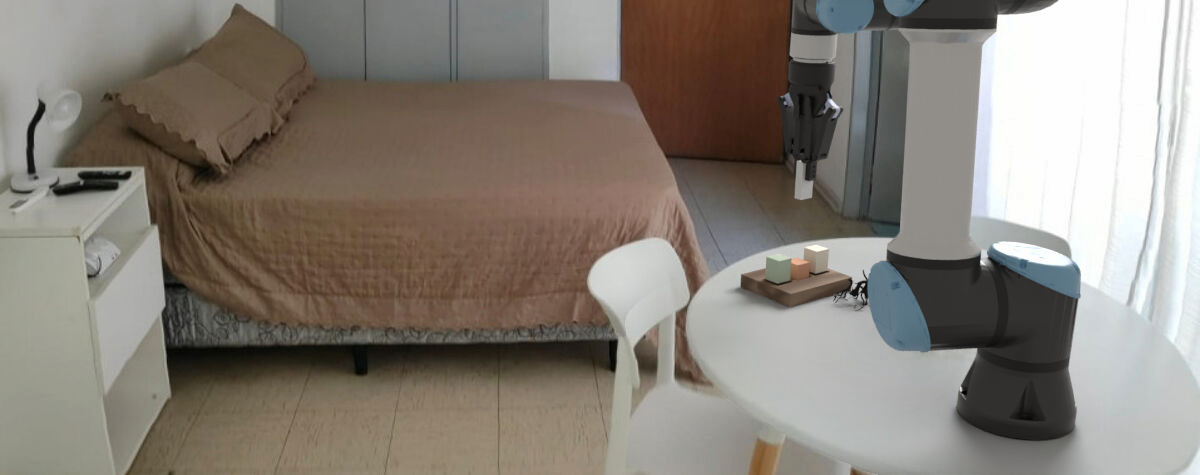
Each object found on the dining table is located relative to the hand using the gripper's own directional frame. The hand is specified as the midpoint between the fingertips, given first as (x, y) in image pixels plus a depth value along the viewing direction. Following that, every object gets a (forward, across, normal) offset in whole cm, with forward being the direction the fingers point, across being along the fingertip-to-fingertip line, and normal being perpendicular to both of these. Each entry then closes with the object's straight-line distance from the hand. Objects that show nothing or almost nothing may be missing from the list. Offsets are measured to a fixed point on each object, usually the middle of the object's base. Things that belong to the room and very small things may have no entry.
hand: (803, 197), depth 202 cm
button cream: (+14, 0, -4) cm, 15 cm away
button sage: (+14, 0, +5) cm, 15 cm away
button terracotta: (+15, 0, 0) cm, 15 cm away
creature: (+17, -10, -3) cm, 20 cm away
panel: (+17, 0, 0) cm, 17 cm away
